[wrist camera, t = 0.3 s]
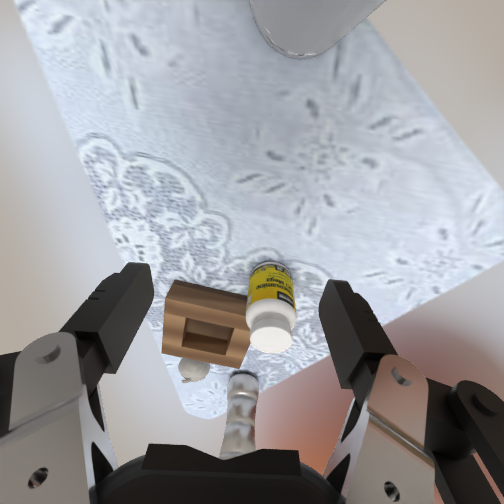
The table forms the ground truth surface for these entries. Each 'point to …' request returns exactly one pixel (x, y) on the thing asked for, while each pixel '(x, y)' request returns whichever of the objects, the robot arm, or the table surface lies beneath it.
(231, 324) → the wooden square tray
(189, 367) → the garlic
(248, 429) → the plastic bottle
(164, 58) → the table surface
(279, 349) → the pill bottle
